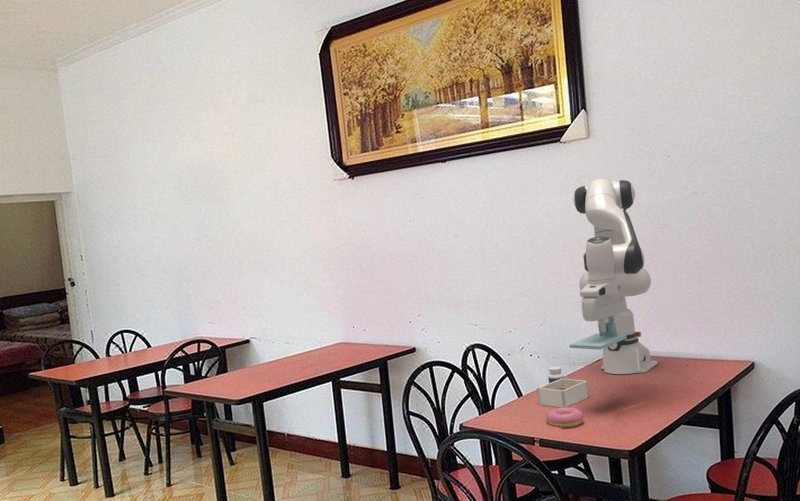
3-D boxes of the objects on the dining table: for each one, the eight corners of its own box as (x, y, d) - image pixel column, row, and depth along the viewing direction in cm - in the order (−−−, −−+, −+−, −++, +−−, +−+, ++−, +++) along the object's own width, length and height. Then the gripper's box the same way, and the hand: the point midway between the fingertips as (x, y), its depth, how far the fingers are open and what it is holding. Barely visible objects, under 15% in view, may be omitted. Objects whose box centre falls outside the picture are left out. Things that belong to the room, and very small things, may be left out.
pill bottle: (565, 394, 244) (562, 369, 244) (550, 395, 245) (547, 370, 245) (565, 390, 249) (562, 365, 249) (549, 391, 250) (547, 366, 250)
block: (566, 396, 239) (565, 384, 239) (577, 397, 237) (576, 385, 237) (561, 399, 236) (559, 387, 236) (572, 400, 234) (571, 388, 234)
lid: (596, 336, 231) (594, 321, 231) (626, 338, 223) (624, 322, 223) (569, 347, 221) (567, 332, 221) (600, 349, 213) (598, 333, 213)
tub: (563, 395, 243) (562, 378, 243) (589, 398, 235) (587, 380, 235) (539, 406, 234) (537, 388, 233) (564, 409, 226) (562, 391, 226)
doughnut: (561, 431, 205) (559, 417, 205) (539, 423, 215) (538, 410, 215) (591, 423, 209) (590, 410, 209) (568, 416, 219) (567, 403, 219)
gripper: (612, 283, 235) (616, 324, 235) (576, 292, 221) (581, 336, 222) (629, 283, 230) (633, 325, 231) (594, 292, 217) (598, 336, 217)
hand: (607, 330), depth 226 cm, fingers closed on lid, 2 cm apart
